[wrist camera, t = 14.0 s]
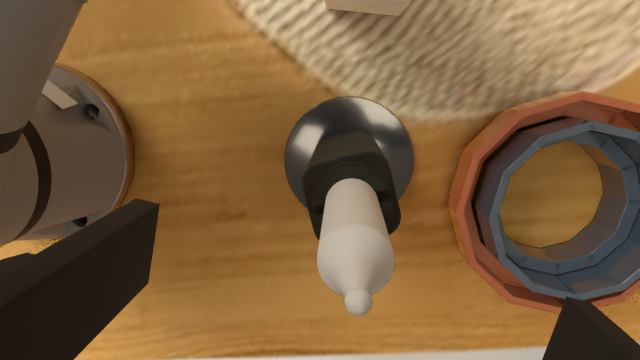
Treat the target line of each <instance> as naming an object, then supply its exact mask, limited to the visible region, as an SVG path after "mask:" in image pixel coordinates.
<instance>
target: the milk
mask: <svg viewBox="0 0 640 360" xmlns="http://www.w3.org/2000/svg"><path fill="white" fill-rule="evenodd" d="M411 1H412V0H325V3H326V8H327V9H333V10H343V11H353V12H363V13H373V14H384V15H394V16H400V15H401V13H402V12H403V11H404V10H405V8H406V7H407V6H408V5H409V4H410V2H411Z"/></svg>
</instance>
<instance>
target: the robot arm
mask: <svg viewBox="0 0 640 360" xmlns="http://www.w3.org/2000/svg"><path fill="white" fill-rule="evenodd" d="M88 1H89V0H0V247H1V246H3V245H5V244H7V243H10V242H12V241H16V240H34V239H51V238H60V237H66V236H68V237H66V238H64V239H62V240H60V241H59V242H57V243H55V244H53V245H51V246H50V247H48V248H46V249H44V250H42V251H41V252H39V253H37V254H35V255H34V254H30V253H25V254H21V255H17V256H13V257H9V258H6V259H2V260H0V360H74V359H75V358H76V356H77V355H78V354H79V353H80V352H81V351H82V350H83V349H84V348H85V347H86V346H87V345H88V344H89V343H90V342H91V341H92V340H93V339H94V338H95V337H96V336H97V335H98V334H99V333H100V332H101V331H102V330H103V329H104V328H105V327H106V326H107V325H108V324H109V323H110V322H111V321H112V320H113V319H114V318H115V316H116V315H117V314H118V313H119V312H120V311H121V310H122V309H123V308H124V307H125V306H126V305H127V304H128V303H129V302H130V301H131V300H132V299H133V298H134V297H135V296H136V295H137V294H138V293H139V292H140V291H141V290H142V289H143V288H144V287H145V286H146V285H147V284H148V281H149V274H150V268H151V261H152V254H153V247H154V240H155V233H156V226H157V219H158V212H159V205H160V204H157V203H153V202H149V201H144V200H140V199H134V200H133V201H131V202H129V203H127V204H125V205H124V206H122V207H120V208H118V209H116V208H117V207H118V206H119V205H120V203H121V202H122V200H123V199H124V197H125V195H126V193H127V191H128V189H129V186H130V183H131V180H132V175H133V170H134V148H133V142H132V137H131V134H130V130H129V127H128V125H127V123H126V120H125V118H124V116H123V114H122V112H121V111H120V109H119V108H118V106H117V104H116V103H115V102H114V100H113V99H112V98H111V97H110V96H109V94H108V93H107V92H106V91H105V90H104V89H103V88H102V87H101V86H99V85H98V84H97V83H96V82H94V81H93V80H92V79H90V78H89V77H87V76H86V75H84V74H83V73H81V72H79V71H77V70H75V69H72V68H69V67H67V66H64V65H60V64H56V63H55V62H56V60H57V58H58V56H59V54H60V51H61V49H62V47H63V45H64V43H65V41H66V39H67V37H68V35H69V33H70V30H71V28H72V26H73V24H74V22H75V20H76V18H77V16H78V14H79V12H80V10H81V7H82V5H83V3H84V2H85V3H87V2H88ZM115 209H116V210H115ZM114 210H115V211H114ZM543 360H640V345H639V344H638V343H637V342H635V341H634V340H633V339H632V338H631V337H630V336H629V335H627V334H626V333H625V332H624V331H623V330H622V329H621V328H619V327H618V326H617V325H616V324H615V323H614V322H613V321H611V320H610V319H609V318H608V317H607V316H606V315H605V314H603V313H602V312H601V311H600V310H599V309H598V308H597V307H595V306H594V305H593V304H592V303H591V302H588V301H584V300H580V299H575V298H571V297H566V299H565V302H564V304H563V307H562V309H561V312H560V315H559V317H558V320H557V323H556V325H555V328H554V330H553V333H552V336H551V338H550V341H549V344H548V346H547V349H546V351H545V354H544V357H543Z"/></svg>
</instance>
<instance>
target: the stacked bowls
mask: <svg viewBox="0 0 640 360" xmlns="http://www.w3.org/2000/svg"><path fill="white" fill-rule="evenodd" d="M578 102H579V103H578ZM587 104H588V105H587ZM596 106H597V107H596ZM600 107H601V108H600ZM609 109H610V110H609ZM617 111H618V112H619V113H620V114H621V115H622V116H623V117H624V118H625V119H626V120H627V121H628V122H629V123H630V124H631V125H632V126H633V127H634V128H635V129H636V130H637V131H636V130H635V129H634V128H633V127H632V126H631V125H630V124H629V123H628V122H627V121H626V120H625V119H624V118H623V117H622V116H621V115H620V114H619V113H618V112H617ZM559 116H562V117H566V119H563V120H560V121H556V122H553V123H546V124H542V125H539V126H535V127H532V128H529V129H525V130H522V131H518V132H515V131H516V130H517V129H519V128H522V127H526V126H529V125H532V124H536V123H539V122H543V121H546V120H549V119H553V118H556V117H559ZM592 131H593V132H592ZM514 132H515V133H514ZM563 141H570V142H574V143H578V144H579V145H580V146H581V147H582V148H583V149H584V150H585V151H586V152H587V153H588V154H589V155H590V156H591V157H592V158H593V159H594V160H595V161H596V162H597V163H598V164H599V168H600V174H601V179H602V184H603V189H604V193H603V196H602V199H601V201H600V204H599V207H598V209H597V212H596V214H595V217H594V220H593V221H592V222H591V223H590V224H588V225H587V226H586V227H585V228H584V229H583V230H582V231H580V232H579V233H578V234H577V235H576V236H575V237H574V238H572V239H571V240H570V241H568V242H564V243H560V244H556V245H552V246H549V247H545V248H541V249H540V248H536V247H531V246H527V245H523V244H518V243H514V242H512V241H511V240H510V239H509V238H508V237H507V236H506V235H504V231H503V227H502V223H501V219H500V214H499V210H500V207H501V204H502V201H503V198H504V195H505V192H506V189H507V185H508V182H509V179H510V176H511V175H512V174H513V173H514V172H515V171H516V170H517V169H519V168H520V167H521V166H522V165H523V164H524V163H525V162H526V161H527V160H528V159H529V158H530V157H531V156H532V155H533V154H534V153H535V152H537V151H538V150H539V149H540V148H543V147H546V146H549V145H553V144H556V143H560V142H563ZM472 199H473V203H474V207H475V211H476V215H477V219H478V223H479V226H480V229H481V231H482V234H483V238H484V242H485V244H483V243H482V242H481V241H480V238H479V234H478V230H477V226H476V222H475V218H474V214H473V210H472V206H471V200H472ZM448 207H449V210H450V214H451V218H452V222H453V225H454V229H455V233H456V237H457V241H458V244H459V248H460V252H461V255H462V256H463V257H464V259H465V260H466V262H467V263H468V265H469V266H470V267H471V268H472V269H473V270H474V271H476V272H477V273H478V274H479V275H480V276H481V277H482V278H483V279H484V280H485V281H486V282H487V283H489V284H490V285H491V286H492V287H493V288H494V289H495V290H496V291H497V292H498V293H499V294H500V295H501V296H503V297H504V298H505V299H506V300H507V301H508V302H509V303H513V304H517V305H522V306H526V307H530V308H535V309H539V310H543V311H548V312H552V313H556V314H560V312H561V309H562V307H563V304H564V302H565V299H566V297H571V298H575V299H580V300H584V301H588V302H591V303H592V304H593V305H594V306H595V307H597V308H598V307H602V306H606V305H610V304H614V303H618V302H622V301H624V300H626V299H627V298H628V297H629V296H630V295H632V294H633V293H634V292H635V291H637V290H638V289H639V288H640V104H636V103H632V102H627V101H623V100H618V99H614V98H610V97H605V96H601V95H596V94H592V93H588V92H583V91H564V92H561V93H557V94H554V95H551V96H547V97H544V98H541V99H537V100H534V101H531V102H527V103H524V104H521V105H518V106H514V107H511V108H508V109H506V110H505V111H504V112H503V113H500V114H499V115H498V116H497V117H496V118H495V119H494V120H493V121H492V122H491V123H490V124H489V125H488V126H487V127H485V128H484V129H483V130H482V131H481V132H480V133H479V134H478V135H477V136H476V137H475V138H474V139H473V140H472V141H471V142H470V143H469V144H468V145H467V146H466V147H465V148H464V149H463V150H462V154H461V157H460V160H459V164H458V167H457V170H456V174H455V177H454V180H453V184H452V187H451V191H450V194H449V202H448ZM475 257H476V258H475ZM488 269H489V270H490V271H491V272H490V271H489V270H488ZM502 282H505V283H502ZM506 283H509V284H506ZM511 284H514V285H511ZM515 285H518V286H515ZM519 286H522V287H519ZM524 287H527V288H524Z"/></svg>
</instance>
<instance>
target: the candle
mask: <svg viewBox="0 0 640 360" xmlns="http://www.w3.org/2000/svg"><path fill="white" fill-rule="evenodd" d="M301 184H302V190H303V194H304V197H305V201H306V204H307V208H308V211H309V215H310V219H311V222H312V226H313V229H314V233H315V235H316V237H317V239H318V240H319V246H318V253H317V267H318V271H319V274H320V276H321V278H322V280H323V282H324V283H325V284H326V285H327V286H328V288H330V289H331V290H332V291H334V292H335V293H337V294H339V295H342V296H344V297H345V300H344V303H345V307H346V309H347V310H348V311H349V312H350V313H351V314H353V315H355V316H362V315H365V314H367V313H368V312H369V311H370V309H371V307H372V303H373V302H372V297H371V295H373V294H375V293H377V292H378V291H380V290H381V289H383V287H384V286H385V285H386V284H387V283H388V282H389V280H390V278H391V276H392V274H393V270H394V265H395V257H394V251H393V247H392V244H391V241H390V238H389V235H390V234H391V233H393V232H394V231H395V230H396V229H397V228H398V226H399V223H400V220H401V213H400V208H399V204H398V200H397V196H396V191H395V187H394V183H393V179H392V174H391V170H390V166H389V164H388V161H387V160H386V158H385V156H384V155H383V153H382V151H381V149H380V148H379V146H378V144H377V143H376V141H375V139H374V138H373V136H372V135H371V133H369V132H368V131H366V130H363V129H358V130H353V131H350V132H346V133H342V134H338V135H334V136H330V137H326V138H324V139H322V140H320V141H319V142H318V144H317V145H316V148H315V150H314V152H313V154H312V157H311V159H310V161H309V163H308V166H307V168H306V170H305V172H304V175H303V177H302V182H301Z"/></svg>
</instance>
